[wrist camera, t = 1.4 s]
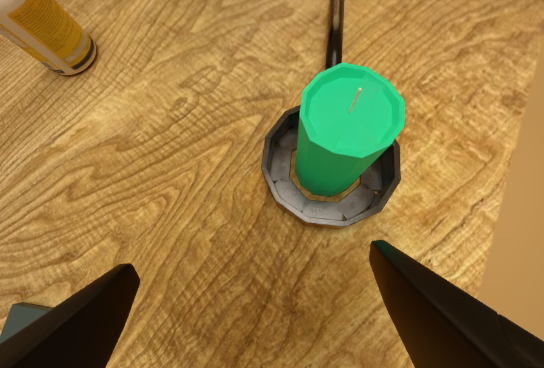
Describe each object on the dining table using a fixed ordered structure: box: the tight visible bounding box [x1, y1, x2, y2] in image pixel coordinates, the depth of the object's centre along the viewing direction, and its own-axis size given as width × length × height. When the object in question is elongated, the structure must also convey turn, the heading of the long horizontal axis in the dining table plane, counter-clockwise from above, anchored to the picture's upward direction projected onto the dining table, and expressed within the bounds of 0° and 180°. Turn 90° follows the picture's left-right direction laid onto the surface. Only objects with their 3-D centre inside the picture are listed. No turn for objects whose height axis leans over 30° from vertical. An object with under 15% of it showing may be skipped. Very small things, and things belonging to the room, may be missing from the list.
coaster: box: [0, 303, 53, 344], centre depth 20 cm, size 8×8×1 cm
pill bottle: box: [0, 0, 96, 75], centre depth 24 cm, size 6×6×12 cm
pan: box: [261, 0, 401, 229], centre depth 23 cm, size 28×12×3 cm, turn 173°
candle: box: [295, 62, 405, 197], centre depth 17 cm, size 6×6×12 cm
